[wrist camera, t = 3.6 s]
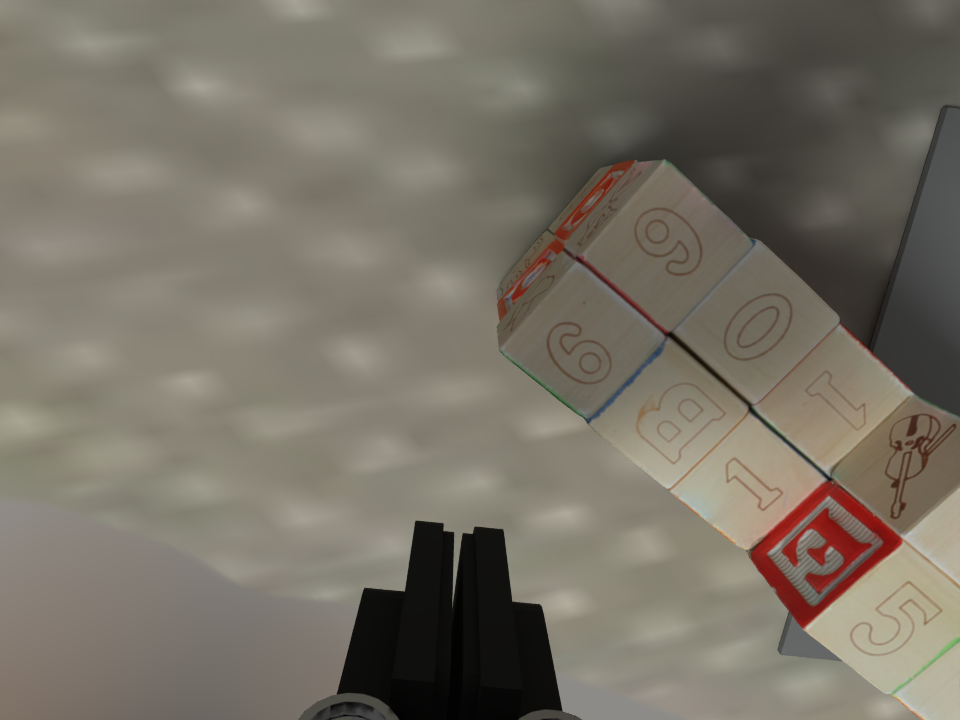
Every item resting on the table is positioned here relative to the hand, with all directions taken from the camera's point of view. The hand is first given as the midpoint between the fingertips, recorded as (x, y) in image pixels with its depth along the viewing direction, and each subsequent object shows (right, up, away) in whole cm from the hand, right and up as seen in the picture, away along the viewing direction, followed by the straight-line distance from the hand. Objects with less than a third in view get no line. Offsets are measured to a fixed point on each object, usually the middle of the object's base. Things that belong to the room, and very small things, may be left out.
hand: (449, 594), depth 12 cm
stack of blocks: (+11, +3, +14) cm, 18 cm away
